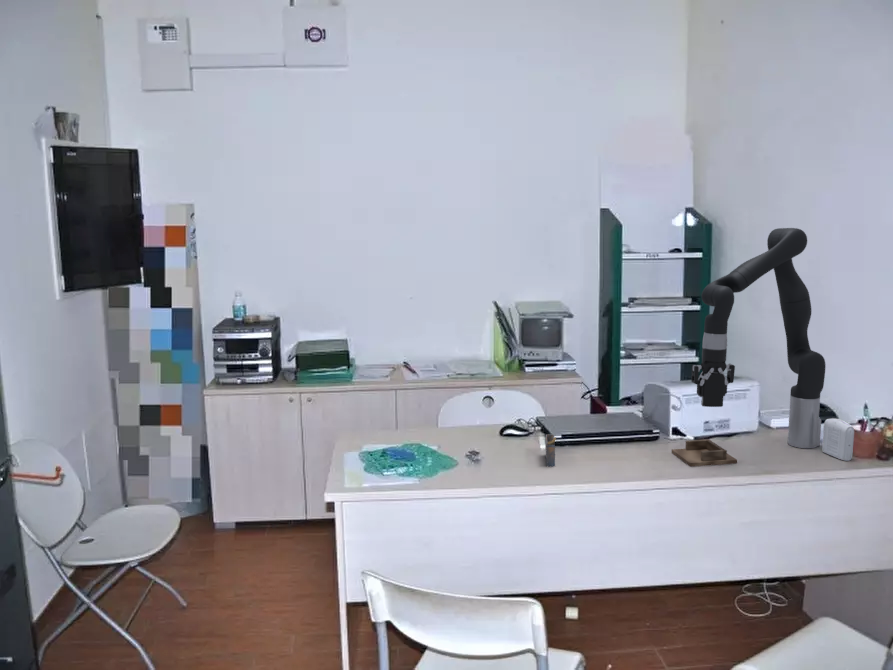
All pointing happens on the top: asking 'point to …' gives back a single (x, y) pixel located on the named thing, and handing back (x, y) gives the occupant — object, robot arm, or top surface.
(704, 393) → the battery
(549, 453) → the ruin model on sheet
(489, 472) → the top surface
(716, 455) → the u rest
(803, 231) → the robot arm
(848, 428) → the photo printer
